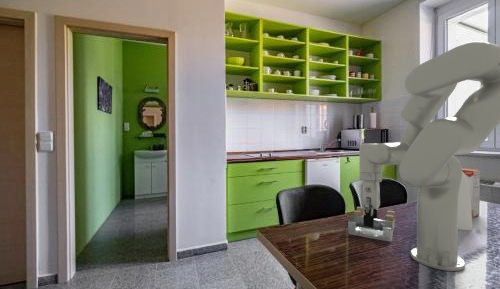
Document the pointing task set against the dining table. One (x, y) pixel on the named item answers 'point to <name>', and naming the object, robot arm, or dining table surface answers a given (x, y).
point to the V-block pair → (370, 232)
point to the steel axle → (377, 223)
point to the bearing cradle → (389, 216)
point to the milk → (464, 205)
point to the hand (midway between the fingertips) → (370, 222)
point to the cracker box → (474, 189)
